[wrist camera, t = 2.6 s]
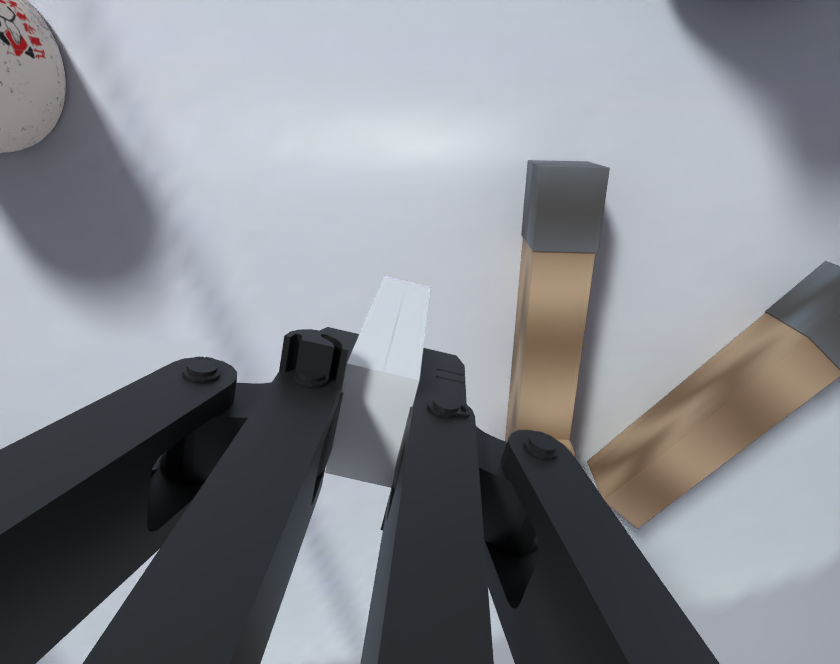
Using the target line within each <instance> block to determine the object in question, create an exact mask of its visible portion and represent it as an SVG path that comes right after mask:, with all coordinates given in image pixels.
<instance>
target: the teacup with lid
mask: <svg viewBox="0 0 840 664" xmlns="http://www.w3.org/2000/svg"><path fill="white" fill-rule="evenodd" d="M65 93H66V80H65V71H64V65H63V61H62V57H61V54H60V51H59V48H58V46H57V44H56V41H55V39H54V37H53V35H52V33H51V31H50V30H49V28H48V26H47V25H46V23H45V22H44V20H43V19H42V17H41V16H40V15H39V13H38V12H37V11H36V10H35V9H34V7H33V6H32V5H31V4H30V3H29V2H28V1H27V0H0V153H5V152H14V151H19V150H23V149H26V148H29V147H31V146H33V145H35V144H37V143H39V142H40V141H41V140H43V139H44V138H45V137H46V136H47V135H48V134H49V133H50V132H51V130H52V129H53V128H54V126H55V125H56V123H57V122H58V120H59V117H60V115H61V112H62V109H63V106H64V101H65Z"/></svg>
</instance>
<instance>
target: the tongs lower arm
mask: <svg viewBox="0 0 840 664" xmlns="http://www.w3.org/2000/svg"><path fill="white" fill-rule="evenodd" d="M839 376H840V266H838V265H835V264H832V263H829V262H827V261H825V262H824V263H823V264H822V265H820V266H819V267H818V268H817V269H816V270H814V271H813V272H812V273H811V274H810V275H808V276H807V277H806V278H805V279H804V280H802V281H801V282H800V283H799V284H798V285H796V286H795V287H794V288H793V289H792V290H790V291H789V292H788V293H787V294H786V295H784V296H783V297H782V298H781V299H780V300H778V301H777V302H776V303H775V304H774V305H772V306H771V307H770V308H769V309H768V310H766V313H765V314H764V315H763V316H761V317H760V318H759V319H758V320H757V321H755V322H754V323H753V324H752V325H751V326H749V327H748V328H747V329H746V330H745V331H743V332H742V333H741V334H740V335H739V336H737V337H736V338H735V339H734V340H733V341H731V342H730V343H729V344H728V345H727V346H725V347H724V348H723V349H722V350H721V351H719V352H718V353H717V354H716V355H715V356H713V357H712V358H711V359H710V360H709V361H707V362H706V363H705V364H704V365H702V366H701V367H700V368H699V369H698V370H696V371H695V372H694V373H693V374H692V375H690V376H689V377H688V378H687V379H686V380H684V381H683V382H682V383H681V384H680V385H678V386H677V387H676V388H675V389H674V390H672V391H671V392H670V393H669V394H668V395H666V396H665V397H664V398H663V399H662V400H660V401H659V402H658V403H657V404H656V405H654V406H653V407H652V408H651V409H650V410H648V411H647V412H646V413H645V414H644V415H642V416H641V417H640V418H639V419H637V420H636V421H635V422H634V423H633V424H631V425H630V426H629V427H628V428H627V429H625V430H624V431H623V432H622V433H621V434H619V435H618V436H617V437H616V438H615V439H613V440H612V441H611V442H610V443H609V444H607V445H606V446H605V447H604V448H603V449H601V450H600V451H599V452H598V453H597V454H595V455H594V456H593V457H592V458H591V459H589V460H588V461H587V462H588V465H589V467H590V470H591V472H592V474H593V477H594V479H595V481H596V484H597V486H598V489H599V491H600V493H601V496H602V497H603V499H604V500H605V501H606V503H607V504H608V505H609V506H611V507H612V508H613V509H614V510H615V511H617V512H618V513H619V514H620V515H622V516H623V517H624V518H625V519H626V520H628V521H629V522H630V523H631V524H633V525H634V526H635V527H636V528H637V529H638V528H639V527H640V526H642V525H643V524H644V523H646V522H647V521H648V520H650V519H651V518H652V517H654V516H655V515H656V514H658V513H659V512H660V511H662V510H663V509H664V508H666V507H667V506H668V505H670V504H671V503H672V502H673V501H675V500H676V499H677V498H679V497H680V496H681V495H683V494H684V493H685V492H687V491H688V490H689V489H691V488H692V487H693V486H695V485H696V484H697V483H699V482H700V481H701V480H703V479H704V478H705V477H707V476H708V475H709V474H711V473H712V472H713V471H715V470H716V469H717V468H719V467H720V466H721V465H723V464H724V463H725V462H727V461H728V460H729V459H731V458H732V457H733V456H735V455H736V454H737V453H739V452H740V451H741V450H743V449H744V448H745V447H747V446H748V445H749V444H750V443H752V442H753V441H754V440H756V439H757V438H758V437H760V436H761V435H762V434H764V433H765V432H766V431H768V430H769V429H770V428H772V427H773V426H774V425H776V424H777V423H778V422H780V421H781V420H782V419H784V418H785V417H786V416H788V415H789V414H790V413H792V412H793V411H794V410H796V409H797V408H798V407H800V406H801V405H802V404H804V403H805V402H806V401H808V400H809V399H810V398H812V397H813V396H814V395H816V394H817V393H818V392H820V391H821V390H822V389H824V388H825V387H826V386H827V385H829V384H830V383H831V382H833V381H834V380H835V379H837V378H838V377H839Z"/></svg>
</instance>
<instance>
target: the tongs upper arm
mask: <svg viewBox="0 0 840 664" xmlns="http://www.w3.org/2000/svg"><path fill="white" fill-rule="evenodd" d="M609 170H610V168H608V167H605V166H601V165H598V164H594V163H591V162H580V161H533V160H528V165H527V177H526V188H525V200H524V211H523V223H522V236H523V244H522V255H521V266H520V278H519V289H518V301H517V312H516V324H515V335H514V346H513V358H512V369H511V381H510V392H509V404H508V415H507V426H506V438H505V442H507V441H508V438H509V437H510V435H511V433H513V432H515V431H517V430H532V431H540V432H543V433H545V434H548V435H550V436H552V437H554V438H555V439H556V440H558V441H559V442H561V443H563V444H564V445H565V446H566V447H567V448H568V449H569V451H570V452H571V453H572V454H573V456H574V457H575V453H574V450H573V447H572V445H571V442H570V433H571V425H572V418H573V411H574V403H575V396H576V389H577V382H578V374H579V367H580V360H581V353H582V345H583V338H584V331H585V324H586V316H587V309H588V302H589V294H590V287H591V280H592V273H593V265H594V258H595V253H598V248H599V241H600V234H601V227H602V220H603V213H604V205H605V198H606V191H607V184H608V177H609Z"/></svg>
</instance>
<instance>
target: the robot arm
mask: <svg viewBox="0 0 840 664" xmlns="http://www.w3.org/2000/svg"><path fill="white" fill-rule="evenodd" d="M430 288H431V287H429V286H425V285H421V284H417V283H412V282H408V281H404V280H400V279H396V278H391V277H387V276H384V278H383V280H382V282H381V285H380V287H379V289H378V292H377V294H376V296H375V299H374V301H373V303H372V306H371V308H370V311H369V313H368V315H367V318H366V320H365V322H364V325H363V327H362V329H361V332H360V334H356V333H351V332H347V331H343V330H338V329H334V328H330V327H326V328H324V329H322V330H320V331H318V330H312V329H309V330H296V331H291V332H289V333H288V334H286V335H285V336H284V342H283V349H282V355H281V362H280V369H279V373H278V374H277V376H276V377H275V379H274V380H273V381H272V382H271V383H263V384H251V383H236V382H237V371H236V370H235V369H234V368H233V367H232V366H231V365H229V364H227V363H225V362H223V361H220V360H216V359H213V358H209V357H205V358H204V357H195V358H185V359H181V360H178V361H175V362H173V363H171V364H169V365H167V366H165V367H163V368H161V369H159V370H157V371H155V372H153V373H151V374H149V375H147V376H145V377H143V378H141V379H139V380H137V381H135V382H133V383H131V384H129V385H127V386H125V387H123V388H121V389H119V390H117V391H115V392H113V393H111V394H109V395H107V396H105V397H103V398H101V399H99V400H97V401H95V402H93V403H92V404H90V405H88V406H86V407H84V408H82V409H80V410H78V411H76V412H74V413H72V414H70V415H68V416H66V417H64V418H62V419H60V420H58V421H56V422H54V423H52V424H50V425H48V426H46V427H44V428H42V429H40V430H38V431H36V432H34V433H32V434H30V435H28V436H26V437H24V438H22V439H20V440H18V441H16V442H14V443H12V444H10V445H9V446H7V447H5V448H3V449H1V450H0V664H36V663H37V662H38V661H39V660H40V659H41V658H42V657H43V656H44V655H45V654H46V653H48V652H49V651H50V650H51V649H52V648H53V647H54V646H55V645H56V644H57V643H58V642H59V641H60V640H62V639H63V638H64V637H65V636H66V635H67V634H68V633H69V632H70V631H71V630H72V629H73V628H75V627H76V626H77V625H78V624H79V623H80V622H81V621H82V620H83V619H84V618H85V617H86V616H87V615H89V614H90V613H91V612H92V611H93V610H94V609H95V608H96V607H97V606H98V605H99V604H100V603H102V602H103V601H104V600H105V599H106V598H107V597H108V596H109V595H110V594H111V593H112V592H113V591H114V590H116V589H117V588H118V587H119V586H120V585H121V584H122V583H123V582H124V581H125V580H126V579H127V578H128V577H130V576H131V575H132V574H133V573H134V572H135V571H136V570H137V569H138V568H139V567H140V566H141V565H143V564H144V563H145V562H146V561H147V560H148V559H149V558H150V557H151V556H152V555H153V554H154V553H155V552H157V551H158V550H159V551H158V552H157V554H156V555H155V557H154V558H153V560H152V561H151V563H150V564H149V566H148V567H147V569H146V570H145V572H144V573H143V575H142V576H141V578H140V579H139V581H138V582H137V584H136V585H135V587H134V588H133V590H132V591H131V593H130V594H129V596H128V597H127V598H126V600H125V601H124V603H123V604H122V606H121V607H120V609H119V610H118V612H117V613H116V615H115V616H114V618H113V619H112V621H111V622H110V624H109V625H108V627H107V628H106V630H105V631H104V633H103V634H102V636H101V637H100V639H99V640H98V642H97V643H96V645H95V646H94V648H93V649H92V651H91V652H90V653H89V655H88V656H87V658H86V659H85V661H84V662H83V664H260V663H261V660H262V657H263V654H264V651H265V648H266V646H267V643H268V640H269V637H270V634H271V631H272V628H273V625H274V623H275V620H276V617H277V614H278V611H279V608H280V605H281V602H282V599H283V597H284V594H285V591H286V588H287V585H288V582H289V579H290V576H291V574H292V571H293V568H294V565H295V562H296V559H297V556H298V553H299V550H300V548H301V545H302V542H303V539H304V536H305V533H306V530H307V527H308V525H309V522H310V519H311V516H312V513H313V510H314V507H315V504H316V501H317V499H318V496H319V493H320V490H321V487H322V482H323V477H324V472H325V467H326V465H327V467H326V472H325V473H329V474H333V475H338V476H342V477H347V478H351V479H355V480H360V481H364V482H369V483H373V484H378V485H382V486H387V487H391V492H390V495H389V499H388V503H387V507H386V511H385V515H384V519H383V523H382V527H381V530H383V534H382V540H381V545H380V551H379V557H378V563H377V569H376V575H375V581H374V587H373V593H372V599H371V605H370V611H369V616H368V622H367V628H366V634H365V640H364V646H363V652H362V658H361V664H494V662H493V649H492V636H491V622H490V609H489V596H488V588H489V591H490V594H491V596H492V599H493V602H494V605H495V608H496V611H497V614H498V616H499V619H500V622H501V625H502V628H503V631H504V634H505V637H506V639H507V642H508V645H509V648H510V651H511V654H512V656H513V659H514V662H515V664H719V662H718V661H717V659H716V658H715V657H714V655H713V654H712V652H711V651H710V650H709V648H708V647H707V645H706V644H705V643H704V641H703V640H702V638H701V637H700V635H699V634H698V632H697V631H696V629H695V628H694V627H693V625H692V624H691V622H690V621H689V619H688V618H687V617H686V615H685V614H684V612H683V611H682V610H681V608H680V607H679V605H678V604H677V602H676V601H675V600H674V598H673V597H672V595H671V594H670V592H669V591H668V590H667V588H666V587H665V585H664V584H663V583H662V581H661V580H660V578H659V577H658V575H657V574H656V573H655V571H654V570H653V568H652V567H651V565H650V564H649V563H648V561H647V560H646V558H645V557H644V555H643V554H642V553H641V551H640V550H639V548H638V547H637V546H636V544H635V543H634V541H633V540H632V538H631V537H630V536H629V534H628V533H627V531H626V530H625V528H624V527H623V526H622V524H621V523H620V521H619V520H618V518H617V517H616V516H615V514H614V513H613V511H612V510H611V509H610V507H609V506H608V504H607V503H606V501H605V500H604V499H603V497H602V496H601V494H600V493H599V491H598V490H597V489H596V487H595V486H594V484H593V483H592V481H591V480H590V479H589V477H588V476H587V474H586V473H585V472H584V470H583V469H582V467H581V466H580V464H579V463H578V462H577V460H576V459H575V457H574V456H573V454H572V453H571V452H570V451H569V449H568V448H567V447H566V446H565V445H564V444H563V443H561V442H559V441H558V440H556V439H555V438H554V437H552V436H550V435H548V434H545V433H543V432H540V431H532V430H517V431H515V432H513V433H511V435H510V437H509V438H508V441H507V442H504V441H502V440H500V439H497V438H495V437H493V436H491V435H489V434H487V433H485V432H483V431H482V430H480V429H479V428H477V427H476V424H475V415H474V413H473V411H472V409H471V408H470V407H469V406H468V405H467V404H466V385H465V367H464V364H463V363H462V362H461V361H460V359H459V358H458V357H457V356H456V355H452V354H447V353H443V352H439V351H435V350H430V349H426V348H423V346H424V338H425V330H426V321H427V313H428V305H429V296H430Z"/></svg>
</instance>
